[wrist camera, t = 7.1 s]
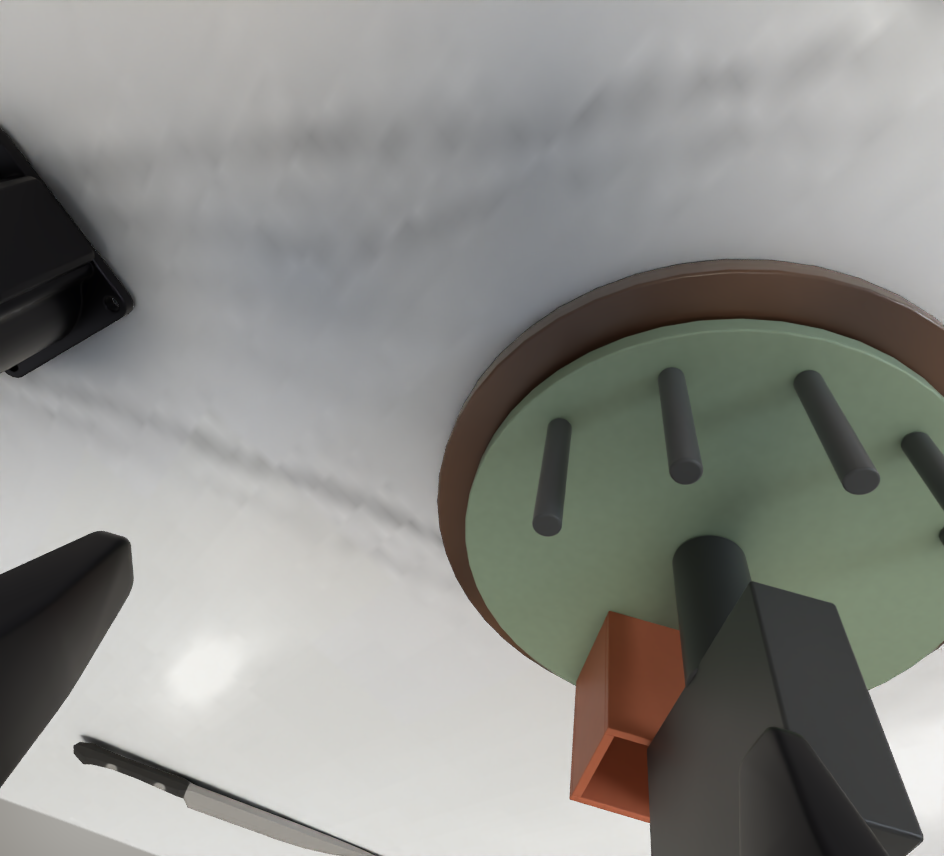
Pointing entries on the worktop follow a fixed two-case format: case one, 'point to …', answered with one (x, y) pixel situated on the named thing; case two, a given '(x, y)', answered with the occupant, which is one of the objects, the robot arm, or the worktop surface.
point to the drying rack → (719, 562)
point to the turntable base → (657, 305)
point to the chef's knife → (218, 803)
